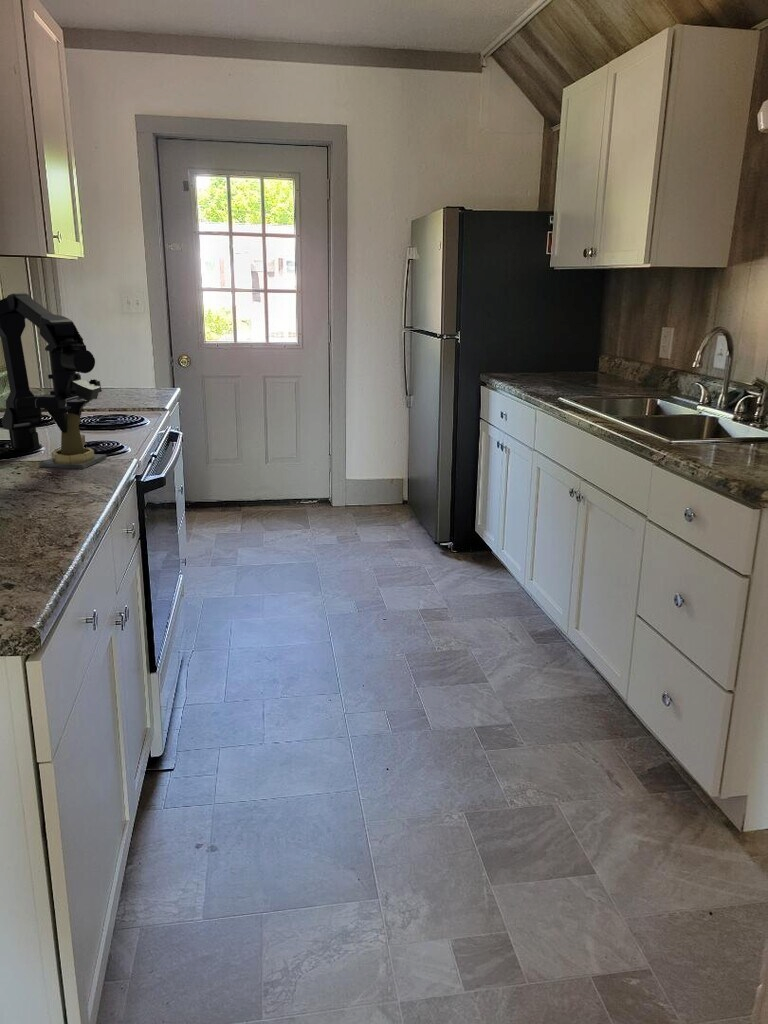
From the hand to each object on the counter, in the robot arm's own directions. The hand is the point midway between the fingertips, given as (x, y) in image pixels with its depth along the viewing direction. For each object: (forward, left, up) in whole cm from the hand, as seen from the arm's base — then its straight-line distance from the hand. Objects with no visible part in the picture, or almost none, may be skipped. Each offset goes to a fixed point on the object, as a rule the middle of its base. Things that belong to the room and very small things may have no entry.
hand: (70, 430), depth 197 cm
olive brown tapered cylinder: (0, 0, -7) cm, 7 cm away
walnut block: (-8, +14, -9) cm, 18 cm away
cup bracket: (0, 0, -8) cm, 8 cm away
